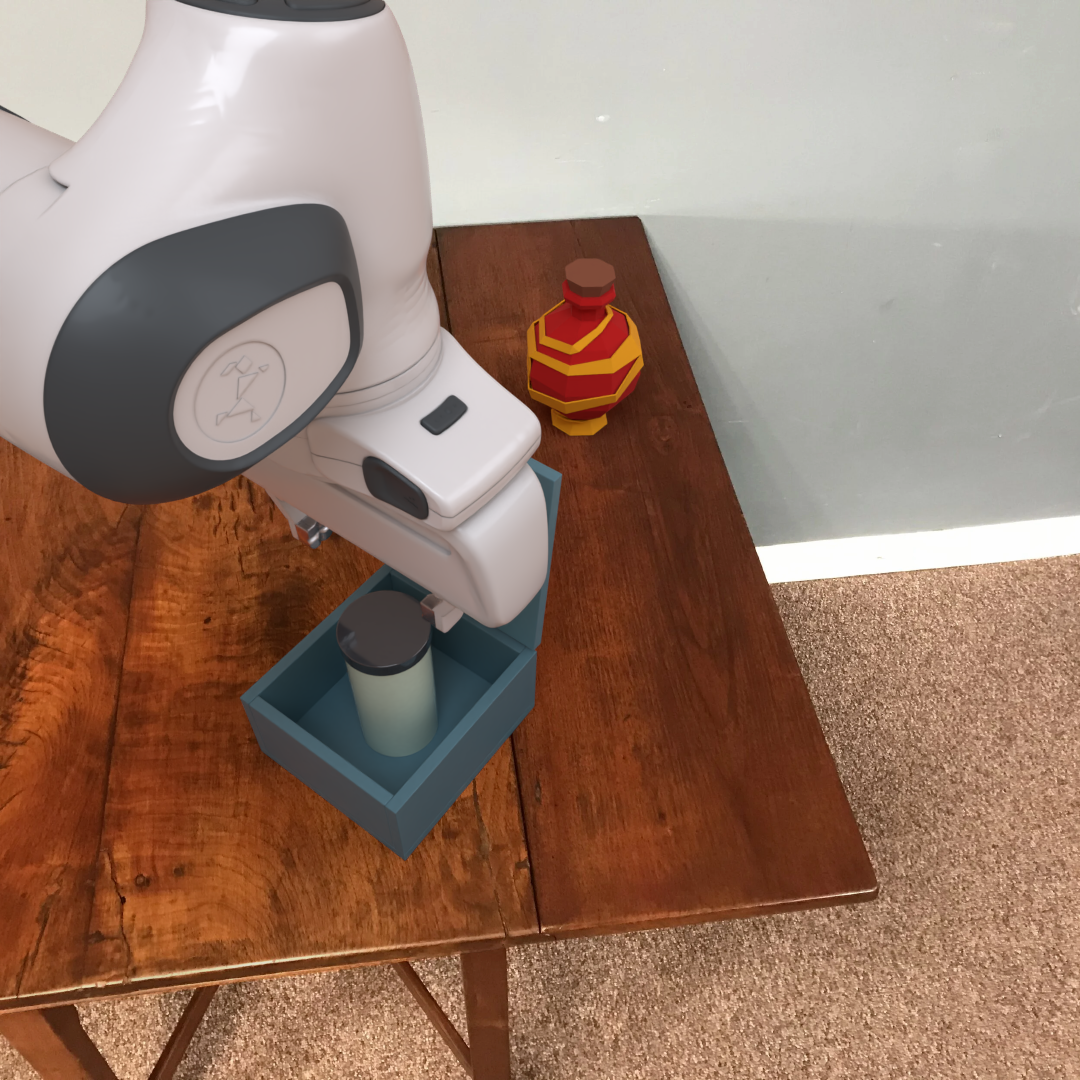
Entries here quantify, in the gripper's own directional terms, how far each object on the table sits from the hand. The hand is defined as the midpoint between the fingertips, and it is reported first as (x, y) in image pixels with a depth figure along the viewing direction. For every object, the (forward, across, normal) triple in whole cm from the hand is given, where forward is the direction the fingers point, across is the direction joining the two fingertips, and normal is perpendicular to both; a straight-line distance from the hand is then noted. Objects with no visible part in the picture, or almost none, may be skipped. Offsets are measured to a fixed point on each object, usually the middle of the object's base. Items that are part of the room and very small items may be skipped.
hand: (376, 576), depth 51 cm
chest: (+16, 0, 0) cm, 17 cm away
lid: (+2, 0, +7) cm, 7 cm away
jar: (+16, 0, 0) cm, 16 cm away
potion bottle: (+17, -8, +33) cm, 38 cm away
